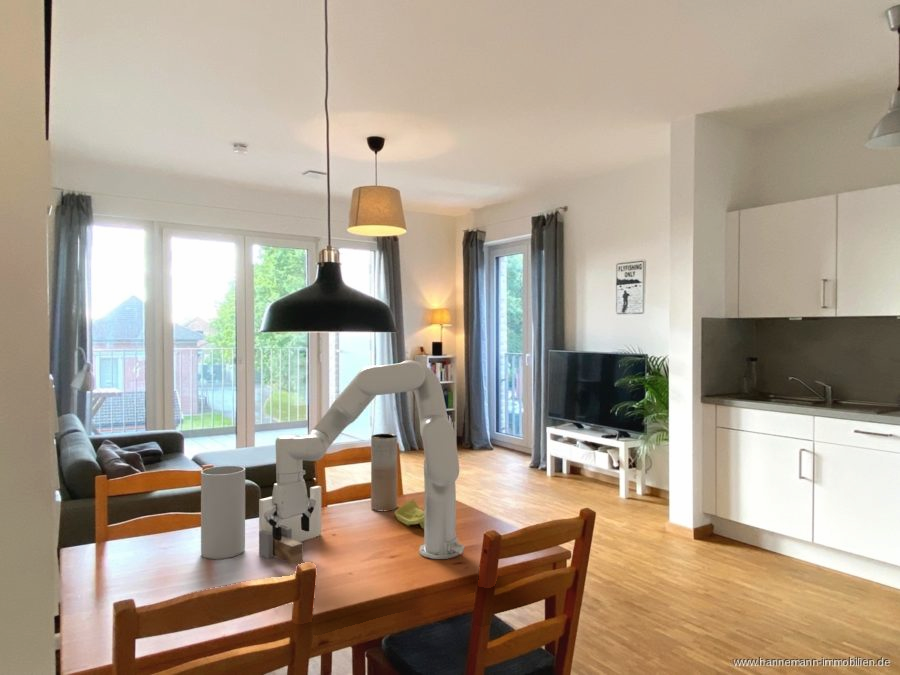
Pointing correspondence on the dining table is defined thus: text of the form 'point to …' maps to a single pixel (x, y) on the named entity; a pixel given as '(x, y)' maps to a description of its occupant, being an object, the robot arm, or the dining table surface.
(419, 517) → the plastic component
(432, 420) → the robot arm
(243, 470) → the cylinder vase
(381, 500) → the planter
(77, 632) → the dining table surface
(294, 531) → the headboard
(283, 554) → the rectangular block
